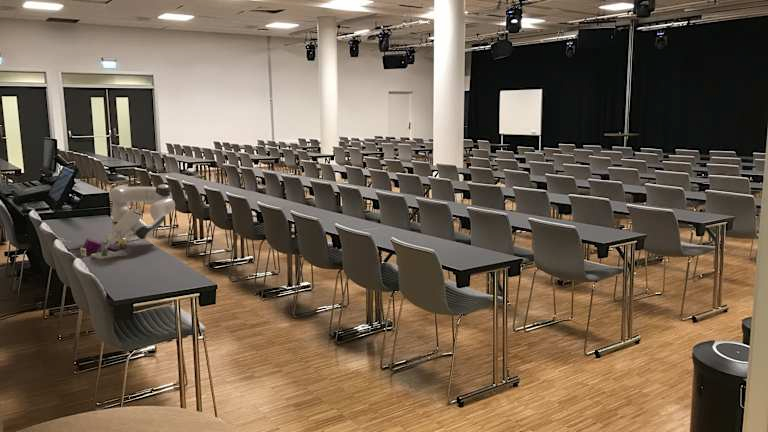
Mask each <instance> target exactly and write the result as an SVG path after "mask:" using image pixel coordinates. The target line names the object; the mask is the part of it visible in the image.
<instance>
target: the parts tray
mask: <svg viewBox="0 0 768 432" xmlns="http://www.w3.org/2000/svg"><path fill="white" fill-rule="evenodd" d="M119 255H120V254H119V253H117V252H115V251H114V252H113V251H109V250H108V255H105V256H101V251H99V252H97V253H94V254H91V255H90V258H93V259H97V260H100V261H101V260H105V259H110V258H116V257H119Z"/></svg>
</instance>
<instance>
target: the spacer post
mask: <svg viewBox="0 0 768 432" xmlns="http://www.w3.org/2000/svg"><path fill="white" fill-rule="evenodd" d="M99 242H100V243H101V248H100V252H101V256H105V255H108V251H109V250H108V247H107V248H105V247H104V246H105V245H106V244H107V240H104V241H103V240H102V241H99Z"/></svg>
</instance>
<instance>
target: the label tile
mask: <svg viewBox="0 0 768 432" xmlns="http://www.w3.org/2000/svg"><path fill="white" fill-rule="evenodd" d="M80 256H82V257H87V253H86V249H85V248H84V247H80Z"/></svg>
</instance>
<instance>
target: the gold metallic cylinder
mask: <svg viewBox="0 0 768 432" xmlns="http://www.w3.org/2000/svg"><path fill="white" fill-rule="evenodd" d="M126 248H127V241H126V238H119V241H118V249H119V250H126Z"/></svg>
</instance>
